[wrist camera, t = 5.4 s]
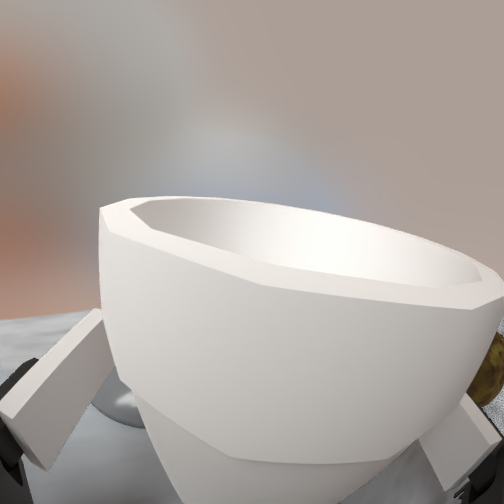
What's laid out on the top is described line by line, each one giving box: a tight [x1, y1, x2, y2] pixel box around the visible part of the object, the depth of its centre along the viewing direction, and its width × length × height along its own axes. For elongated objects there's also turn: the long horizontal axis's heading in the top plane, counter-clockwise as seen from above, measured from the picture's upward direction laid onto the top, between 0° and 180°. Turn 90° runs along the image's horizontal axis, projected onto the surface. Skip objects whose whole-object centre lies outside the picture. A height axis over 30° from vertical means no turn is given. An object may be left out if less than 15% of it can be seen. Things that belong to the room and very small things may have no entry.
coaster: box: [91, 366, 145, 428], centre depth 17 cm, size 10×10×1 cm
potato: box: [466, 331, 504, 407], centre depth 16 cm, size 8×13×8 cm, turn 119°
